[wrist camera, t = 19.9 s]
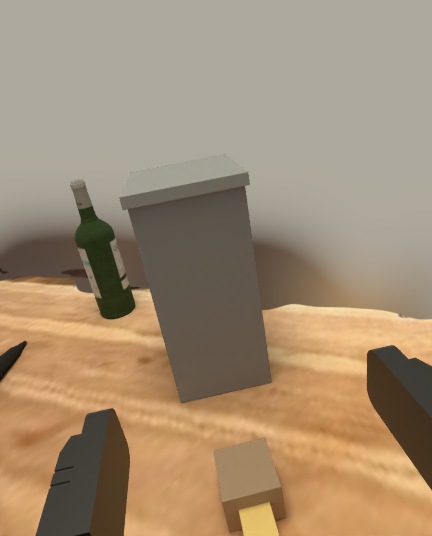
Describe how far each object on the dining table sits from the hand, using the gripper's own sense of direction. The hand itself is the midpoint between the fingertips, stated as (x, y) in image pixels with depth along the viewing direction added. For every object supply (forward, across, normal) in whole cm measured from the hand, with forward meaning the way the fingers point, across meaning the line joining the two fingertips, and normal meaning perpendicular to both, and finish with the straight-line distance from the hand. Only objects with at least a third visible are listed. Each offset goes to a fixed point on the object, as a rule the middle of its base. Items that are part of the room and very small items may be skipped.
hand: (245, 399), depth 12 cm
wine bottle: (+68, +20, +32) cm, 78 cm away
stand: (+43, 0, +32) cm, 53 cm away
